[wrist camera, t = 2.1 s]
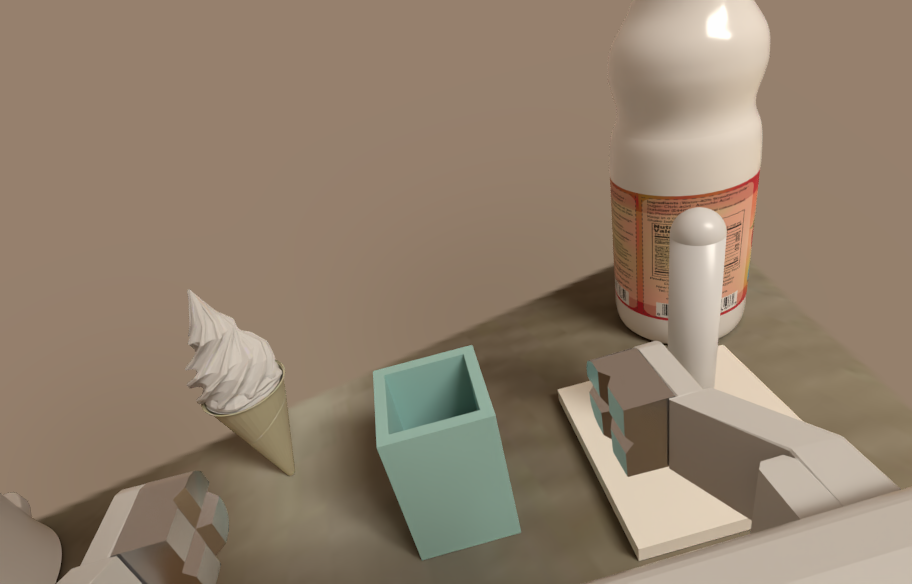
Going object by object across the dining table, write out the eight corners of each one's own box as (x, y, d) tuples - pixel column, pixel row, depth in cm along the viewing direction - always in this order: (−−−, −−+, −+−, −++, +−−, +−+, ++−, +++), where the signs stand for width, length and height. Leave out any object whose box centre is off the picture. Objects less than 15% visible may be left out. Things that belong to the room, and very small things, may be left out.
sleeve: (421, 560, 28) (376, 447, 24) (412, 478, 33) (372, 371, 29) (521, 532, 29) (495, 415, 24) (497, 454, 33) (472, 344, 29)
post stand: (638, 560, 26) (632, 313, 18) (558, 400, 36) (532, 197, 28) (863, 496, 27) (951, 228, 19) (722, 355, 37) (740, 144, 29)
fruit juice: (591, 314, 44) (561, -89, 29) (668, 268, 47) (675, -113, 33) (688, 366, 37) (710, -136, 22) (771, 308, 40) (837, -159, 26)
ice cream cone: (259, 455, 38) (156, 279, 30) (328, 435, 38) (244, 255, 30) (248, 515, 33) (126, 326, 26) (326, 492, 34) (228, 299, 26)
